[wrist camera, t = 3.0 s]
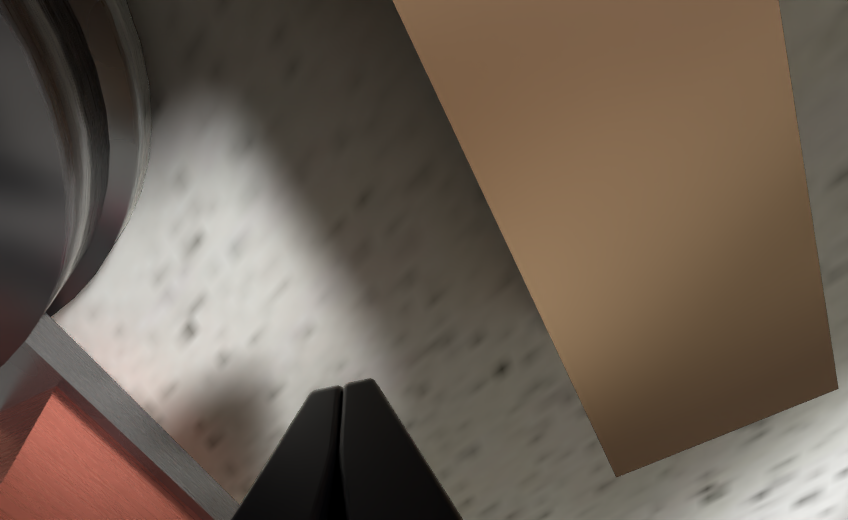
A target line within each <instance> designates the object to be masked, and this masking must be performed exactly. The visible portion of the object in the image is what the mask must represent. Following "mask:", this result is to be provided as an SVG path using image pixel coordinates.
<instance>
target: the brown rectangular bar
mask: <svg viewBox="0 0 848 520" xmlns="http://www.w3.org/2000/svg"><path fill="white" fill-rule="evenodd" d="M392 1H393V3H394V5H395V7H396V9H397V11H398V13H399V15H400V18H401V20H402V22H403V24H404V26H405V28H406V30H407V33H408V35H409V37H410V39H411V41H412V43H413V45H414V47H415V50H416V52H417V54H418V56H419V58H420V60H421V62H422V64H423V67H424V69H425V71H426V73H427V75H428V77H429V79H430V82H431V84H432V86H433V88H434V90H435V92H436V94H437V96H438V99H439V101H440V103H441V105H442V107H443V109H444V111H445V114H446V116H447V118H448V120H449V122H450V124H451V126H452V128H453V131H454V133H455V135H456V137H457V139H458V141H459V143H460V145H461V148H462V150H463V152H464V154H465V156H466V158H467V160H468V163H469V165H470V167H471V169H472V171H473V173H474V175H475V177H476V180H477V182H478V184H479V186H480V188H481V190H482V192H483V194H484V197H485V199H486V201H487V203H488V205H489V207H490V209H491V212H492V214H493V216H494V218H495V220H496V222H497V224H498V226H499V229H500V231H501V233H502V235H503V237H504V239H505V241H506V243H507V246H508V248H509V250H510V252H511V254H512V256H513V258H514V261H515V263H516V265H517V267H518V269H519V271H520V273H521V275H522V278H523V280H524V282H525V284H526V286H527V288H528V290H529V292H530V295H531V297H532V299H533V301H534V303H535V305H536V307H537V310H538V312H539V314H540V316H541V318H542V320H543V322H544V324H545V327H546V329H547V331H548V333H549V335H550V337H551V339H552V342H553V344H554V346H555V348H556V350H557V352H558V354H559V356H560V359H561V361H562V363H563V365H564V367H565V369H566V371H567V373H568V376H569V378H570V380H571V382H572V384H573V386H574V388H575V391H576V393H577V395H578V397H579V399H580V401H581V403H582V405H583V408H584V410H585V412H586V414H587V416H588V418H589V420H590V422H591V425H592V427H593V429H594V431H595V433H596V435H597V437H598V440H599V442H600V444H601V446H602V448H603V450H604V452H605V454H606V457H607V459H608V461H609V463H610V465H611V467H612V469H613V471H614V474H615V476H616V477H619V476H621V475H624V474H626V473H629V472H631V471H634V470H636V469H639V468H641V467H644V466H646V465H649V464H651V463H654V462H656V461H659V460H661V459H664V458H666V457H669V456H671V455H674V454H676V453H679V452H681V451H684V450H686V449H689V448H691V447H694V446H696V445H699V444H701V443H704V442H706V441H709V440H711V439H714V438H716V437H719V436H721V435H724V434H726V433H729V432H731V431H734V430H737V429H739V428H742V427H744V426H747V425H749V424H752V423H754V422H757V421H759V420H762V419H764V418H767V417H769V416H772V415H774V414H777V413H779V412H782V411H784V410H787V409H789V408H792V407H794V406H797V405H799V404H802V403H804V402H807V401H809V400H812V399H814V398H817V397H819V396H822V395H824V394H827V393H829V392H832V391H834V390H837V389H838V382H837V376H836V369H835V363H834V356H833V350H832V344H831V337H830V331H829V324H828V318H827V311H826V305H825V298H824V292H823V285H822V279H821V272H820V266H819V259H818V253H817V246H816V240H815V233H814V227H813V221H812V214H811V208H810V201H809V195H808V188H807V182H806V175H805V169H804V162H803V156H802V149H801V143H800V136H799V130H798V123H797V117H796V110H795V104H794V97H793V91H792V85H791V78H790V72H789V65H788V59H787V52H786V46H785V39H784V33H783V26H782V20H781V13H780V7H779V0H392Z"/></svg>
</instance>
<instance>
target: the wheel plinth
mask: <svg viewBox="0 0 848 520" xmlns="http://www.w3.org/2000/svg"><path fill="white" fill-rule="evenodd" d="M68 1H69V3H70V5H71V7H72V9H73V11H74V13H75V15H76V17H77V19H78V21H79V23H80V25H81V28H82V30H83V33H84V36H85V38H86V41H87V44H88V46H89V49H90V52H91V54H92V57H93V60H94V62H95V65H96V68H97V72H98V77H99V81H100V85H101V89H102V93H103V98H104V102H105V106H106V112H107V122H108V132H109V142H110V157H109V177H108V187H107V191H106V196H105V201H104V205H103V210H102V215H101V218H100V220H99V223H98V225H97V228H96V230H95V233H94V235H93V238H92V240H91V243H90V245H89V247H88V249H87V250H86V252H85V253H84V255H83V257H82V258H81V260H80V262H79V263H78V265H77V266H76V268H75V270H74V271H73V273H72V274H71V276H70V277H69V279H68V280H67V281H66V283H65V284H64V286H63V287H62V289H61V290H60V292H59V293H58V295H57V296H56V297H55V299H54V300H53V302H52V303H51V305H50V306H49V308H48V309H47V310H46V312H45V313H46V314H47V315H48V316H49V317H51V316H52V315H53V314H55V313H56V312H57V311H58V310H60V309H61V308H62V307H63V306H65V305H66V304H67V303H68V302H70V301H71V300H72V299H73V298H74V297H75V296H76V295H77V294H78V293H79V292H80V291H81V290H82V288H83V287H84V286H85V285H86V284H87V283H88V282H89V281H90V280H91V278H92V277H93V276H94V275H95V274H96V272H97V271H98V269H99V268H100V266H101V264H102V263H103V261H104V260H105V258H106V256H107V255H108V253H109V252H110V250H111V249H112V247H113V245H114V244H115V242H116V241H117V239H118V237H119V236H120V234H121V233H122V231H123V229H124V228H125V226H126V225H127V223H128V221H129V220H130V217H131V215H132V213H133V210H134V208H135V206H136V203H137V201H138V198H139V196H140V194H141V191H142V187H143V183H144V179H145V175H146V170H147V166H148V162H149V155H150V143H151V130H152V117H151V102H150V87H149V82H148V77H147V72H146V67H145V62H144V57H143V52H142V47H141V44H140V41H139V38H138V35H137V32H136V29H135V26H134V23H133V20H132V17H131V14H130V11H129V8H128V5H127V2H126V0H68Z"/></svg>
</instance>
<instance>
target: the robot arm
mask: <svg viewBox="0 0 848 520" xmlns="http://www.w3.org/2000/svg"><path fill="white" fill-rule="evenodd" d="M231 520H463V519H462V517H461V515H460V514H459V512H458V511H457V509H456V508H455V506H454V504H453V503H452V501H451V500H450V498H449V496H448V495H447V493H446V492H445V490H444V489H443V487H442V485H441V484H440V482H439V481H438V479H437V478H436V476H435V474H434V473H433V471H432V470H431V468H430V466H429V465H428V463H427V462H426V460H425V459H424V457H423V455H422V454H421V452H420V451H419V449H418V448H417V446H416V444H415V443H414V441H413V440H412V438H411V436H410V435H409V433H408V432H407V430H406V429H405V427H404V425H403V424H402V422H401V421H400V419H399V417H398V416H397V414H396V413H395V411H394V410H393V408H392V406H391V405H390V403H389V402H388V400H387V399H386V397H385V395H384V394H383V392H382V391H381V389H380V387H379V386H378V384H377V383H376V381H375V380H374V379H371V378H369V379H364V380H360V381H355V382H350V383H347V384H346V385H345V386H344V387H343V388H342V387H341V386H339V385H336V386H332V387H327V388H322V389H318V390H314V391H312V392H311V393H310V394H309V395H308V397H307V399H306V400H305V402H304V403H303V405H302V407H301V408H300V410H299V411H298V413H297V415H296V416H295V418H294V419H293V421H292V423H291V424H290V426H289V427H288V429H287V431H286V432H285V434H284V435H283V437H282V439H281V440H280V442H279V443H278V445H277V446H276V448H275V450H274V451H273V453H272V454H271V456H270V458H269V459H268V461H267V462H266V464H265V466H264V467H263V469H262V470H261V472H260V474H259V475H258V477H257V478H256V480H255V482H254V483H253V485H252V486H251V488H250V490H249V491H248V493H247V494H246V496H245V498H244V499H243V501H242V502H241V504H240V506H239V507H238V509H237V510H236V512H235V514H234V515H233V517H232V518H231Z"/></svg>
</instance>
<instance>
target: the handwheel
mask: <svg viewBox="0 0 848 520" xmlns="http://www.w3.org/2000/svg"><path fill="white" fill-rule="evenodd" d="M109 157H110V142H109V132H108V122H107V112H106V106H105V102H104V98H103V93H102V89H101V85H100V81H99V77H98V72H97V68H96V65H95V62H94V60H93V57H92V54H91V52H90V49H89V46H88V44H87V41H86V38H85V36H84V33H83V30H82V28H81V25H80V23H79V21H78V19H77V17H76V15H75V13H74V11H73V9H72V7H71V5H70V3H69V1H68V0H0V520H231V518H232V517H233V515H234V514H235V512H236V510H237V509H238V507H239V506H240V505H239V504H238V503H237V502H236V501H235V500H234V499H233V498H232V497H231V496H230V495H229V494H228V493H227V492H226V491H225V490H224V489H223V488H222V487H221V486H220V485H219V484H218V483H217V482H216V481H215V480H214V479H213V478H212V477H211V476H210V475H209V474H208V473H207V472H206V471H205V470H204V469H203V468H202V467H201V466H200V465H199V464H198V463H197V462H196V461H195V460H194V459H193V458H192V457H191V456H190V455H189V454H188V453H187V452H186V451H185V450H184V449H183V448H182V447H181V446H180V445H179V444H178V443H177V442H176V441H175V440H174V439H173V438H172V437H171V436H170V435H169V434H168V433H167V432H166V431H165V430H163V429H162V428H161V427H160V426H159V425H158V424H157V423H156V422H155V421H154V420H153V419H152V418H151V417H150V416H149V415H148V414H147V413H146V412H145V411H144V410H143V409H142V408H141V407H140V406H139V405H138V404H137V403H136V402H135V401H134V400H133V399H132V398H131V397H130V396H129V395H128V394H127V393H126V392H125V391H124V390H123V389H122V388H121V387H120V386H119V385H118V384H117V383H116V382H115V381H114V380H113V379H112V378H111V377H110V376H109V375H108V374H107V373H106V372H105V371H104V370H103V369H102V368H101V367H100V366H99V365H98V364H97V363H96V362H95V361H94V360H93V359H92V358H91V357H90V356H89V355H88V354H87V353H86V352H85V351H84V350H83V349H82V348H81V347H80V346H79V345H78V344H77V343H76V342H75V341H74V340H73V339H72V338H71V337H70V336H69V335H68V334H67V333H66V332H65V331H64V330H63V329H62V328H61V327H60V326H59V325H58V324H57V323H56V322H55V321H54V320H52V319H51V318H50V317H49V316H48V315H47V314H46V313H45V312H46V310H47V309H48V308H49V306H50V305H51V303H52V302H53V300H54V299H55V297H56V296H57V295H58V293H59V292H60V290H61V289H62V287H63V286H64V284H65V283H66V281H67V280H68V279H69V277H70V276H71V274H72V273H73V271H74V270H75V268H76V266H77V265H78V263H79V262H80V260H81V258H82V257H83V255H84V253H85V252H86V250H87V249H88V247H89V245H90V243H91V240H92V238H93V235H94V233H95V230H96V228H97V225H98V223H99V220H100V218H101V215H102V210H103V205H104V201H105V196H106V191H107V187H108V177H109Z"/></svg>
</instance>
